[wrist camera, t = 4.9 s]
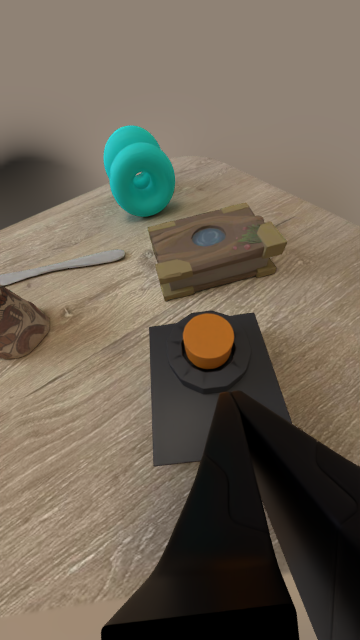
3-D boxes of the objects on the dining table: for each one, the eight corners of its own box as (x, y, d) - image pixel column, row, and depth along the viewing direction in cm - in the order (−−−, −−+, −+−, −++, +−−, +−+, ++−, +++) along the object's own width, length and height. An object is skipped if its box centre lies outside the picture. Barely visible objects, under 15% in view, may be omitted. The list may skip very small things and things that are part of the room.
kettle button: (235, 366, 16) (240, 355, 14) (188, 372, 16) (186, 362, 14) (225, 325, 18) (228, 309, 16) (183, 331, 18) (180, 316, 16)
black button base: (281, 448, 18) (313, 449, 12) (163, 462, 18) (147, 469, 13) (246, 332, 23) (258, 301, 18) (157, 344, 24) (144, 317, 19)
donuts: (124, 227, 35) (98, 157, 27) (115, 197, 41) (91, 131, 32) (180, 211, 36) (173, 138, 28) (164, 183, 41) (154, 115, 33)
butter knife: (124, 260, 30) (123, 246, 32) (-58, 297, 30) (-51, 281, 32) (125, 263, 31) (124, 249, 32) (-54, 299, 31) (-47, 283, 32)
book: (165, 302, 27) (157, 275, 22) (149, 246, 32) (141, 216, 28) (274, 273, 27) (287, 241, 23) (240, 223, 33) (246, 190, 29)
